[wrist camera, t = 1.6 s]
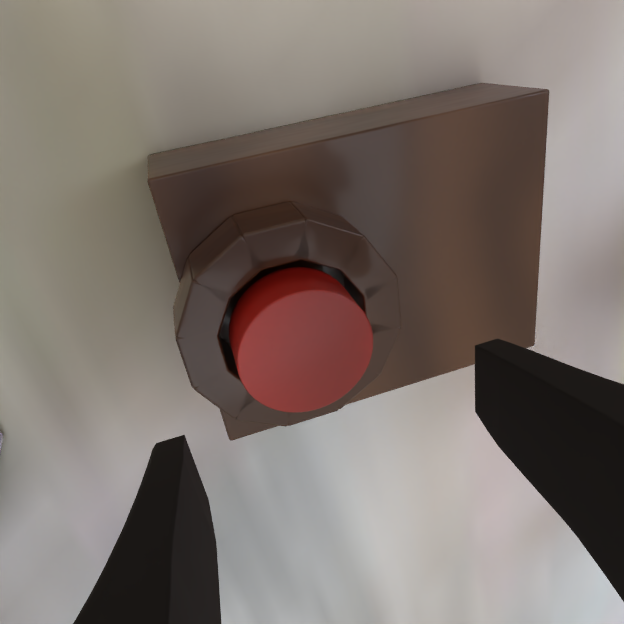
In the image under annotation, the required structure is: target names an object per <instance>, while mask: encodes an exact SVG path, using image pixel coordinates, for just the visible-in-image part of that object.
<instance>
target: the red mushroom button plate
mask: <svg viewBox="0 0 624 624" xmlns="http://www.w3.org/2000/svg"><path fill="white" fill-rule="evenodd" d="M548 102H549V90H547V89H539V88H529V87H518V86H508V85H497V84H487V83H479V84H474V85H470V86H465V87H460V88H456V89H451V90H447V91H442V92H437V93H433V94H428V95H423V96H419V97H414V98H410V99H405V100H400V101H396V102H391V103H387V104H382V105H377V106H373V107H368V108H363V109H359V110H354V111H350V112H345V113H340V114H336V115H331V116H326V117H322V118H317V119H313V120H308V121H303V122H299V123H294V124H290V125H285V126H280V127H276V128H271V129H266V130H262V131H257V132H253V133H248V134H243V135H239V136H234V137H230V138H225V139H220V140H216V141H211V142H206V143H202V144H197V145H193V146H188V147H183V148H179V149H174V150H169V151H165V152H160V153H156V154H151V155H149V156H148V185H149V188H150V191H151V194H152V197H153V200H154V204H155V207H156V210H157V213H158V216H159V219H160V223H161V226H162V229H163V232H164V235H165V238H166V241H167V245H168V248H169V251H170V254H171V257H172V260H173V263H174V267H175V270H176V273H177V276H178V279H179V282H180V285H179V288H178V292H177V296H176V299H175V303H174V306H173V315H174V326H175V337H176V342H177V345H178V348H179V351H180V354H181V357H182V359H183V362H184V365H185V368H186V371H187V374H188V377H189V380H190V383H191V386H192V387H193V388H194V390H196V391H197V392H198V393H200V394H201V395H202V396H204V397H205V398H206V399H208V400H209V401H210V402H212V403H213V404H214V405H216V406H217V407H218V408H220V412H221V415H222V418H223V421H224V424H225V427H226V430H227V434H228V437H229V439H230V440H235V439H238V438H241V437H244V436H247V435H251V434H254V433H257V432H260V431H263V430H266V429H270V428H273V427H276V426H290V425H293V424H296V423H300V422H303V421H306V420H309V419H312V418H315V417H319V416H322V415H325V414H328V413H331V412H334V411H337V410H338V409H341V408H342V407H343V406H344V405H346V404H349V403H352V402H356V401H359V400H362V399H365V398H368V397H372V396H375V395H378V394H381V393H384V392H387V391H391V390H394V389H397V388H400V387H403V386H407V385H410V384H413V383H416V382H419V381H422V380H426V379H429V378H432V377H435V376H438V375H442V374H445V373H448V372H451V371H454V370H458V369H461V368H464V367H467V366H470V365H473V364H475V345H478V344H481V343H485V342H488V341H491V340H494V339H501V340H504V341H507V342H510V343H513V344H515V345H518V346H521V347H523V348H528V347H531V346H533V345H534V341H535V324H536V307H537V290H538V273H539V256H540V239H541V222H542V205H543V188H544V170H545V153H546V136H547V119H548ZM293 267H307V268H312V269H317V270H320V271H323V272H325V273H327V274H329V275H331V276H332V277H333V278H335V279H336V280H337V281H338V282H340V283H341V284H342V286H343V287H344V288H345V289H346V290H347V292H348V293H349V294H350V295H351V297H352V298H353V299H354V300H355V301H356V303H357V304H358V305H359V306H360V308H361V309H362V310H363V311H364V313H365V314H366V316H367V318H368V320H369V322H370V325H371V328H372V333H373V351H372V355H371V359H370V362H369V365H368V367H367V369H366V371H365V373H364V374H363V376H362V377H361V379H360V380H359V381H358V383H357V384H356V385H355V386H354V387H353V388H352V389H351V390H350V391H349V392H348V393H347V394H345V395H344V396H343V397H341V398H340V399H338V400H337V401H335V402H333V403H331V404H329V405H327V406H325V407H322V408H319V409H316V410H312V411H307V412H294V413H293V412H283V411H278V410H275V409H272V408H269V407H267V406H265V405H263V404H261V403H260V402H258V401H257V400H255V399H254V398H253V397H252V396H251V395H250V394H249V393H248V391H247V390H246V389H245V387H244V386H243V384H242V382H241V380H240V377H239V374H238V371H237V367H236V363H235V360H234V356H233V352H232V349H231V345H230V340H229V323H230V319H231V315H232V312H233V310H234V307H235V305H236V304H237V302H238V300H239V299H240V297H241V296H242V295H243V293H244V292H245V291H246V290H247V289H248V288H249V287H250V286H251V285H252V284H254V283H255V282H256V281H257V280H259V279H261V278H262V277H264V276H266V275H268V274H270V273H272V272H275V271H278V270H281V269H286V268H293Z"/></svg>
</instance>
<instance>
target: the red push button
mask: <svg viewBox="0 0 624 624" xmlns="http://www.w3.org/2000/svg"><path fill="white" fill-rule="evenodd" d="M229 340H230V345H231V349H232V352H233V356H234V360H235V363H236V367H237V371H238V374H239V377H240V380H241V382H242V384H243V386H244V387H245V389H246V390H247V391H248V393H249V394H250V395H251V396H252V397H253V398H254V399H255V400H257V401H258V402H260V403H261V404H263V405H265V406H267V407H269V408H272V409H275V410H278V411H283V412H293V413H294V412H307V411H312V410H316V409H319V408H322V407H325V406H327V405H329V404H331V403H333V402H335V401H337V400H338V399H340V398H341V397H343V396H344V395H345V394H347V393H348V392H349V391H350V390H351V389H352V388H353V387H354V386H355V385H356V384H357V383H358V381H359V380H360V379H361V377H362V376H363V374H364V373H365V371H366V369H367V367H368V365H369V362H370V359H371V355H372V351H373V333H372V328H371V325H370V322H369V320H368V318H367V316H366V314H365V313H364V311H363V310H362V309H361V308H360V306H359V305H358V304H357V303H356V301H355V300H354V299H353V298H352V297H351V295H350V294H349V293H348V292H347V290H346V289H345V288H344V287H343V286H342V284H341V283H340V282H338V281H337V280H336V279H335V278H333V277H332V276H331V275H329V274H327V273H325V272H323V271H320V270H317V269H312V268H307V267H293V268H286V269H281V270H278V271H275V272H272V273H270V274H268V275H266V276H264V277H262V278H261V279H259V280H257V281H256V282H255V283H254V284H252V285H251V286H250V287H249V288H248V289H247V290H246V291H245V292H244V293H243V295H242V296H241V297H240V299H239V300H238V302H237V304H236V305H235V307H234V310H233V312H232V315H231V319H230V323H229Z"/></svg>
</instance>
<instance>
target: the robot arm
mask: <svg viewBox="0 0 624 624" xmlns="http://www.w3.org/2000/svg"><path fill="white" fill-rule="evenodd" d="M475 412H476V413H477V415H478V416H479V418H480V420H481V421H482V423H483V424H484V426H485V427H486V429H487V430H488V432H489V433H490V435H491V436H492V438H493V439H494V440H495V442H496V443H497V445H498V446H499V447H500V448H501V450H502V451H503V452H504V453H505V454H506V455H507V457H508V458H509V459H510V460H511V461H512V462H513V463H514V465H515V466H516V467H517V468H518V469H519V470H520V471H521V473H522V474H523V475H524V476H525V477H526V478H527V479H528V480H529V482H530V483H531V484H532V485H533V486H534V487H535V488H536V489H537V491H538V492H539V493H540V494H541V495H542V496H543V497H544V498H545V500H546V501H547V502H548V503H549V504H550V505H551V506H552V507H553V509H554V510H555V511H556V512H557V513H558V514H559V515H560V516H561V518H562V519H563V520H564V521H565V522H566V524H567V525H568V526H569V527H570V528H571V530H572V531H573V532H574V533H575V534H576V536H577V537H578V538H579V540H580V541H581V542H582V544H583V545H584V547H585V548H586V549H587V551H588V552H589V553H590V555H591V556H592V558H593V559H594V560H595V562H596V563H597V564H598V566H599V567H600V569H601V570H602V571H603V573H604V574H605V575H606V577H607V578H608V580H609V581H610V583H611V584H612V586H613V587H614V588H615V590H616V591H617V593H618V594H619V596H620V597H621V599H622V600H623V601H624V384H621V383H618V382H614V381H611V380H608V379H606V378H603V377H600V376H597V375H594V374H591V373H589V372H586V371H583V370H580V369H578V368H575V367H572V366H570V365H567V364H565V363H562V362H559V361H557V360H554V359H552V358H549V357H547V356H544V355H541V354H539V353H536V352H534V351H531V350H529V349H526V348H523V347H521V346H518V345H515V344H513V343H510V342H507V341H504V340H501V339H494V340H491V341H488V342H485V343H481V344H478V345H475ZM2 441H3V435H2V433H1V432H0V453H1V447H2ZM73 624H221V611H220V595H219V578H218V563H217V548H216V539H215V533H214V528H213V522H212V516H211V511H210V505H209V500H208V497H207V495H206V492H205V489H204V486H203V484H202V481H201V478H200V476H199V473H198V470H197V468H196V465H195V462H194V460H193V457H192V454H191V452H190V449H189V446H188V444H187V441H186V438H185V435H182V436H179V437H175V438H172V439H169V440H166V441H162V442H159V443H156V445H155V446H154V448H153V450H152V453H151V456H150V459H149V462H148V465H147V468H146V471H145V474H144V477H143V480H142V482H141V485H140V488H139V490H138V493H137V496H136V498H135V501H134V503H133V505H132V508H131V510H130V513H129V515H128V518H127V520H126V522H125V525H124V527H123V529H122V532H121V534H120V536H119V538H118V540H117V542H116V544H115V546H114V549H113V551H112V553H111V555H110V557H109V559H108V561H107V563H106V565H105V567H104V569H103V571H102V573H101V575H100V577H99V579H98V581H97V583H96V585H95V586H94V588H93V590H92V592H91V594H90V596H89V597H88V599H87V601H86V603H85V604H84V606H83V608H82V610H81V611H80V613H79V615H78V617H77V618H76V620H75V622H74V623H73Z"/></svg>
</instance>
